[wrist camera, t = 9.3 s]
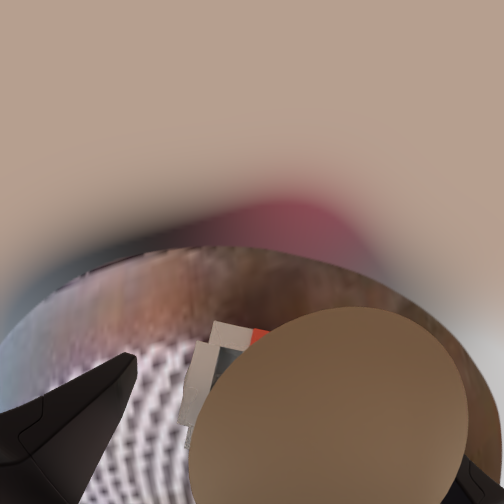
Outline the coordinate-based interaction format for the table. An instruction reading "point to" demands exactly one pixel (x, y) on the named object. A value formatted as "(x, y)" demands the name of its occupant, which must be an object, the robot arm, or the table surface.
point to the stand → (212, 367)
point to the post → (333, 416)
